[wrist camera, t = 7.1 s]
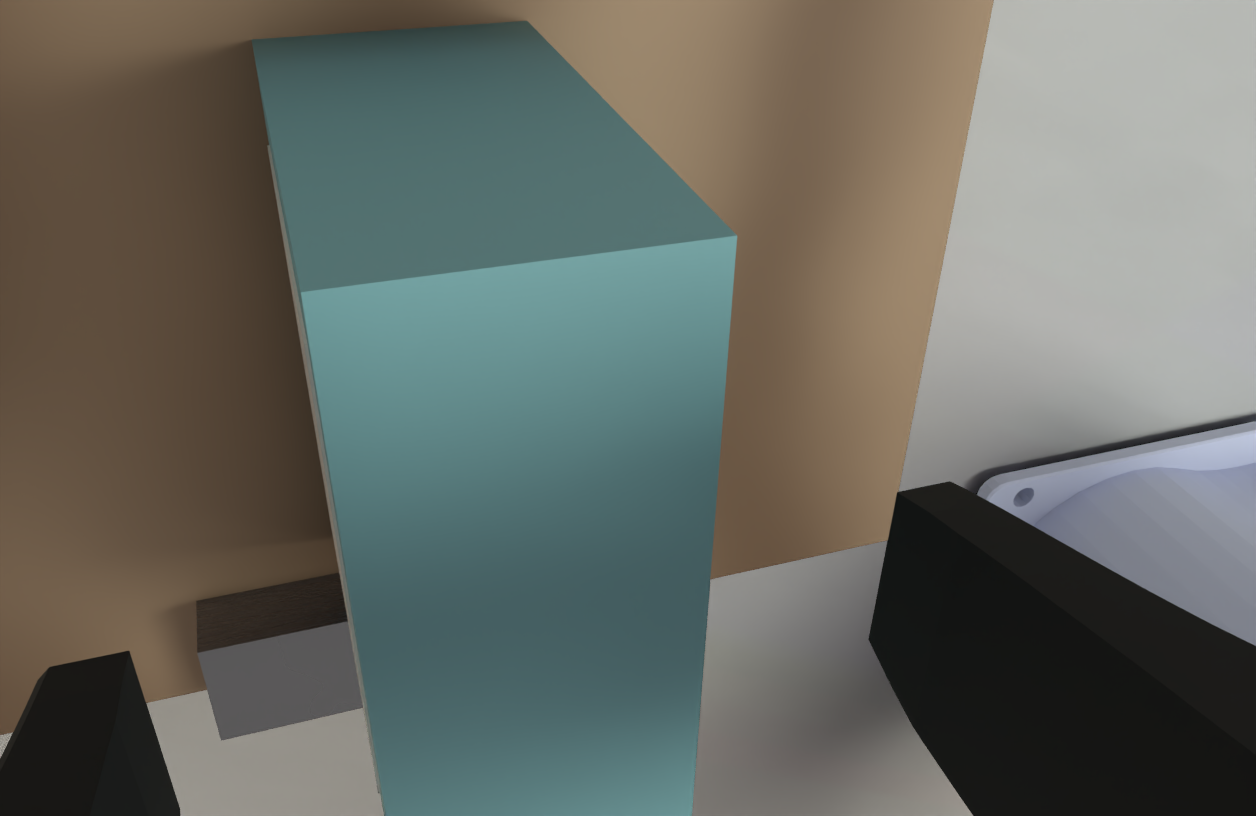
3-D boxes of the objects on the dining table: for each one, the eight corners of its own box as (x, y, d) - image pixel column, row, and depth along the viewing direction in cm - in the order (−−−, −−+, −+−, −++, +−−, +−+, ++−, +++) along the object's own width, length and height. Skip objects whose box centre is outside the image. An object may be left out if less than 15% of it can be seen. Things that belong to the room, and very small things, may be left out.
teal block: (527, 20, 15) (737, 235, 9) (542, 498, 19) (689, 837, 14) (248, 40, 14) (296, 292, 8) (332, 537, 18) (399, 920, 13)
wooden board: (981, -268, 16) (1103, -258, 14) (853, 496, 24) (919, 578, 22) (-569, -281, 11) (-746, -269, 9) (-94, 690, 19) (-128, 821, 17)
